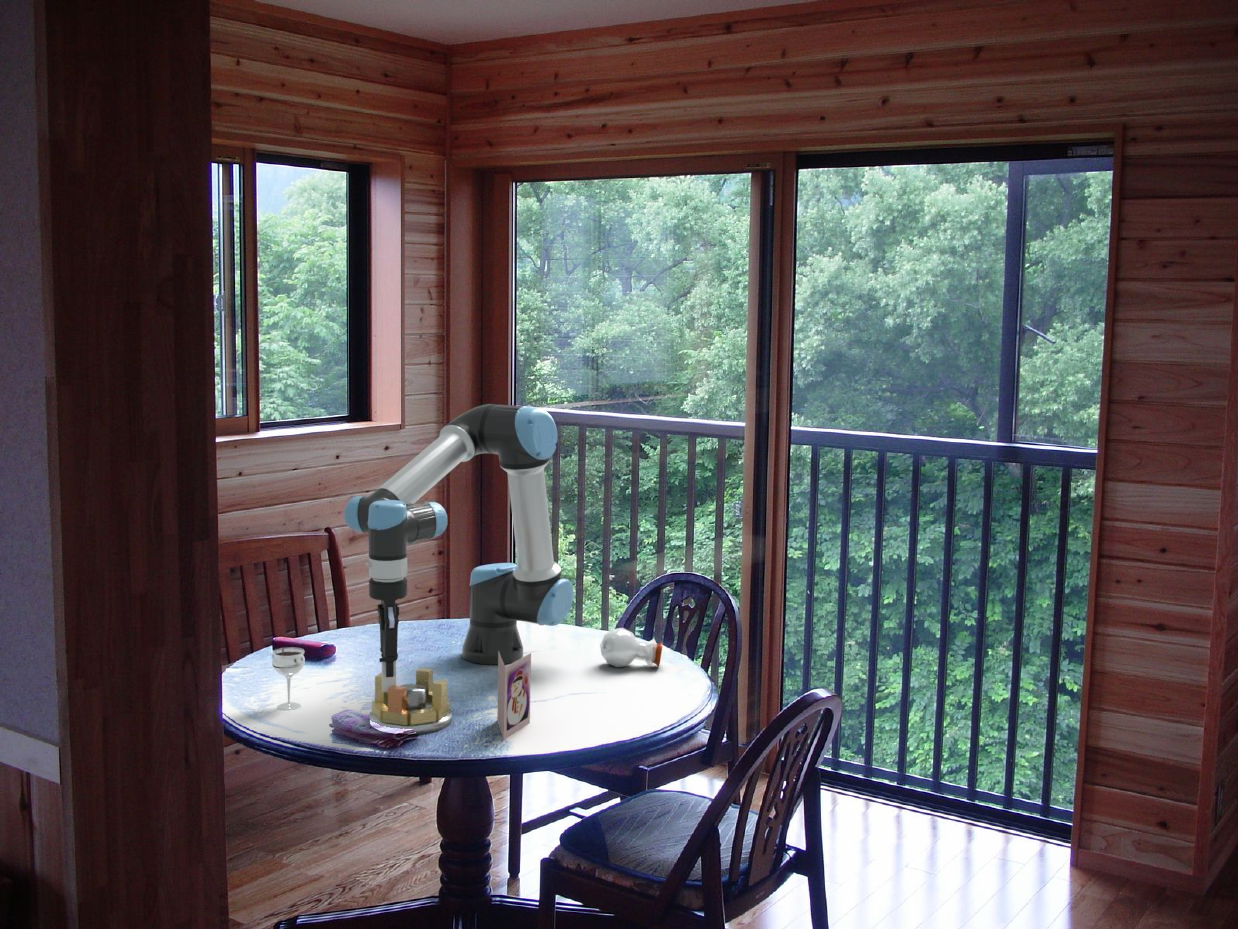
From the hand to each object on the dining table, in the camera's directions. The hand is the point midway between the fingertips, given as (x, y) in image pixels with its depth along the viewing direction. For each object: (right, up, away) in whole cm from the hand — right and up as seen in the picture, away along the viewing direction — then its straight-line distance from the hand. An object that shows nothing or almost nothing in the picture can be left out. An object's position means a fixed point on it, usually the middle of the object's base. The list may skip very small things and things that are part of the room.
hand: (389, 690), depth 243 cm
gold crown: (+4, -5, +5) cm, 8 cm away
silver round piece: (+4, -7, +5) cm, 10 cm away
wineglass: (-24, -6, +12) cm, 28 cm away
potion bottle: (+50, -4, +49) cm, 70 cm away
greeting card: (+23, -9, +2) cm, 25 cm away
